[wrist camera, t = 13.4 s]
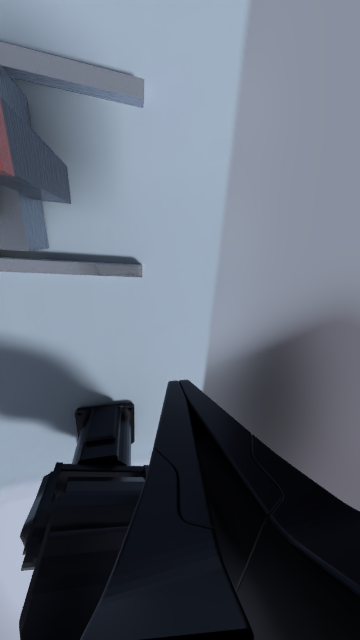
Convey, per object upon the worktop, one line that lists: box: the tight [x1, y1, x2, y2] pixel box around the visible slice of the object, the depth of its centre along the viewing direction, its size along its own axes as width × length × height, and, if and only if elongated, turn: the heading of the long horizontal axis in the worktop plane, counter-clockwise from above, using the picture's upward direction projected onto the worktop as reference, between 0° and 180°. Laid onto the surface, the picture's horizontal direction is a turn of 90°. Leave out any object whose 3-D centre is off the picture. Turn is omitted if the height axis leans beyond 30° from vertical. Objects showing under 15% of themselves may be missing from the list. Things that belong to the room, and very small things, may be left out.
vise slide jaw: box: [0, 64, 71, 251], centre depth 11 cm, size 9×4×9 cm, turn 175°
